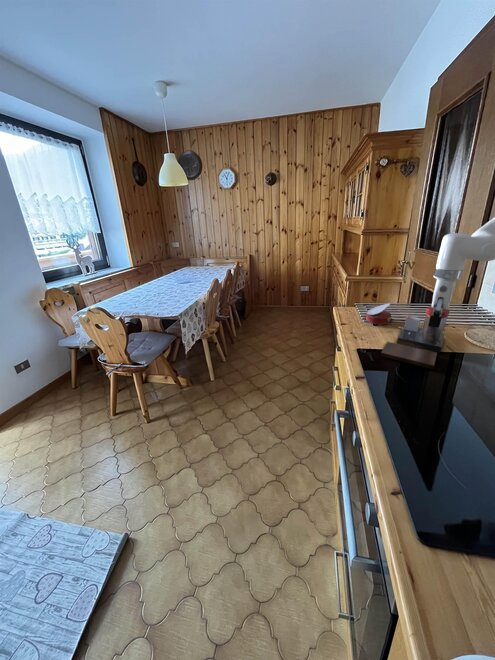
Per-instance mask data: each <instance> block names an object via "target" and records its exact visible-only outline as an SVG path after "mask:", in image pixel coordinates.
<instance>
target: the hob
mask: <svg viewBox="0 0 495 660" xmlns="http://www.w3.org/2000/svg"><path fill="white" fill-rule="evenodd" d="M404 327H405V324H404V325H403V326H398V328H399V329H401V330H400V332H399V334H398V337H397V341H396V344H400V345H404V346H409V347H413V348H418V349H422V350H427V351H431V352H436V353H437V354H441V351H442V348H443V343H444V339H445V332H443V334H442V337H441V341H440V342H439V343H437V344H431V343H427V342H424V341H422V340H421V339H420V336H421V332H422V328H420V327H418V331H417V332H415V331H410V330H405V329H404Z"/></svg>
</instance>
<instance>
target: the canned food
mask: <svg viewBox="0 0 495 660" xmlns="http://www.w3.org/2000/svg"><path fill="white" fill-rule="evenodd" d="M390 305H391V303H390V302H389V303H385V304H380V305H377V306H374V307H372V308H370V309H369V310H367V311H366V317H365V321H367V322H369V323H371V324H374V325H387V324H390V322H391V318H392V313H391V312H389V311H387V310H385V309H387V308H388V307H390Z"/></svg>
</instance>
